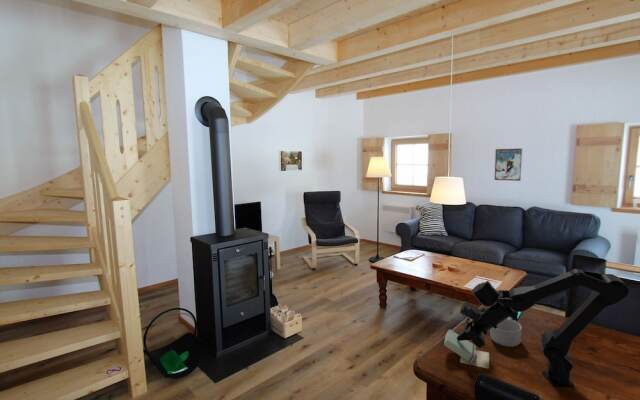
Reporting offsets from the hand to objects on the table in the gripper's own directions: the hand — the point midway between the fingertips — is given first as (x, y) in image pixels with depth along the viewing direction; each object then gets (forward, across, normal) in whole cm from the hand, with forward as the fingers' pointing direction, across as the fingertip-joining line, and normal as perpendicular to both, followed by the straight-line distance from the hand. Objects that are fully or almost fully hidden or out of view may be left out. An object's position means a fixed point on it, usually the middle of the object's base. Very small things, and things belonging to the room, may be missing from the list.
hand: (457, 339), depth 123 cm
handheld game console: (-7, -41, +18) cm, 45 cm away
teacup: (-6, -18, +17) cm, 26 cm away
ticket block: (+2, 0, +8) cm, 9 cm away
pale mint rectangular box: (-1, 0, +7) cm, 7 cm away
